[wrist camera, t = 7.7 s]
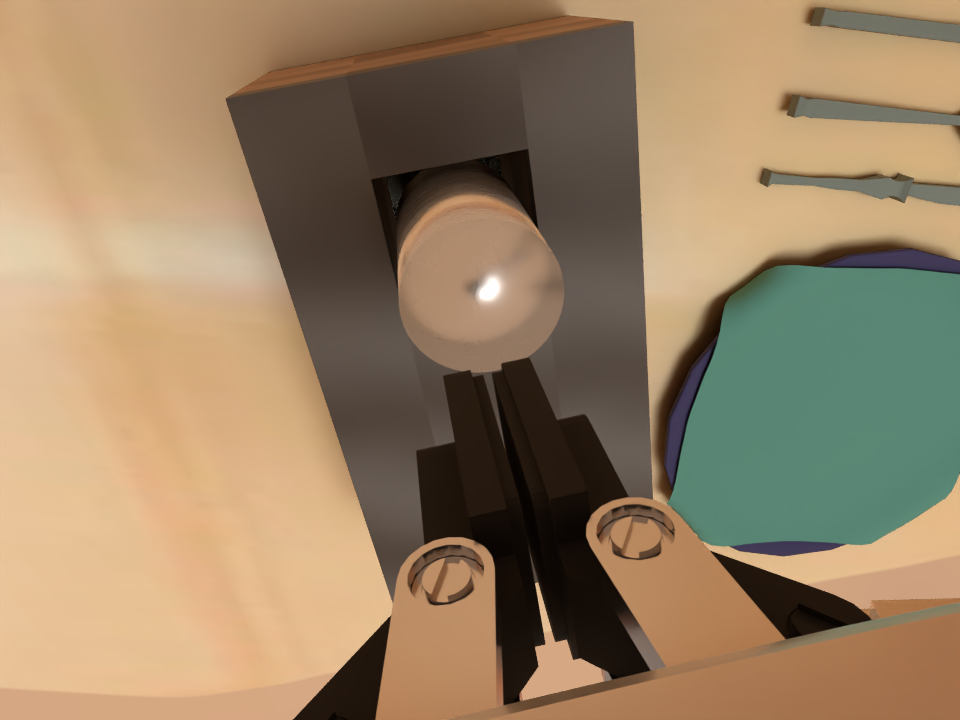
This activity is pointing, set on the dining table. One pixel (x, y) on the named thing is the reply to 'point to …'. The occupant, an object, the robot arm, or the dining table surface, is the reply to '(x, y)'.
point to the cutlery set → (827, 376)
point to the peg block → (373, 241)
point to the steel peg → (473, 270)
